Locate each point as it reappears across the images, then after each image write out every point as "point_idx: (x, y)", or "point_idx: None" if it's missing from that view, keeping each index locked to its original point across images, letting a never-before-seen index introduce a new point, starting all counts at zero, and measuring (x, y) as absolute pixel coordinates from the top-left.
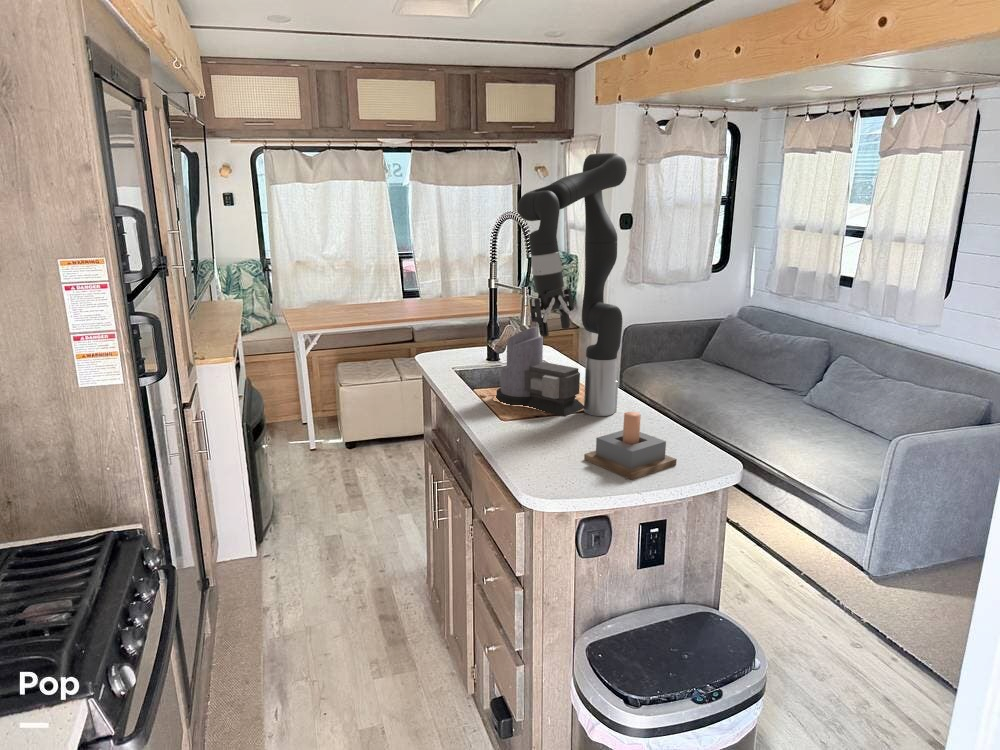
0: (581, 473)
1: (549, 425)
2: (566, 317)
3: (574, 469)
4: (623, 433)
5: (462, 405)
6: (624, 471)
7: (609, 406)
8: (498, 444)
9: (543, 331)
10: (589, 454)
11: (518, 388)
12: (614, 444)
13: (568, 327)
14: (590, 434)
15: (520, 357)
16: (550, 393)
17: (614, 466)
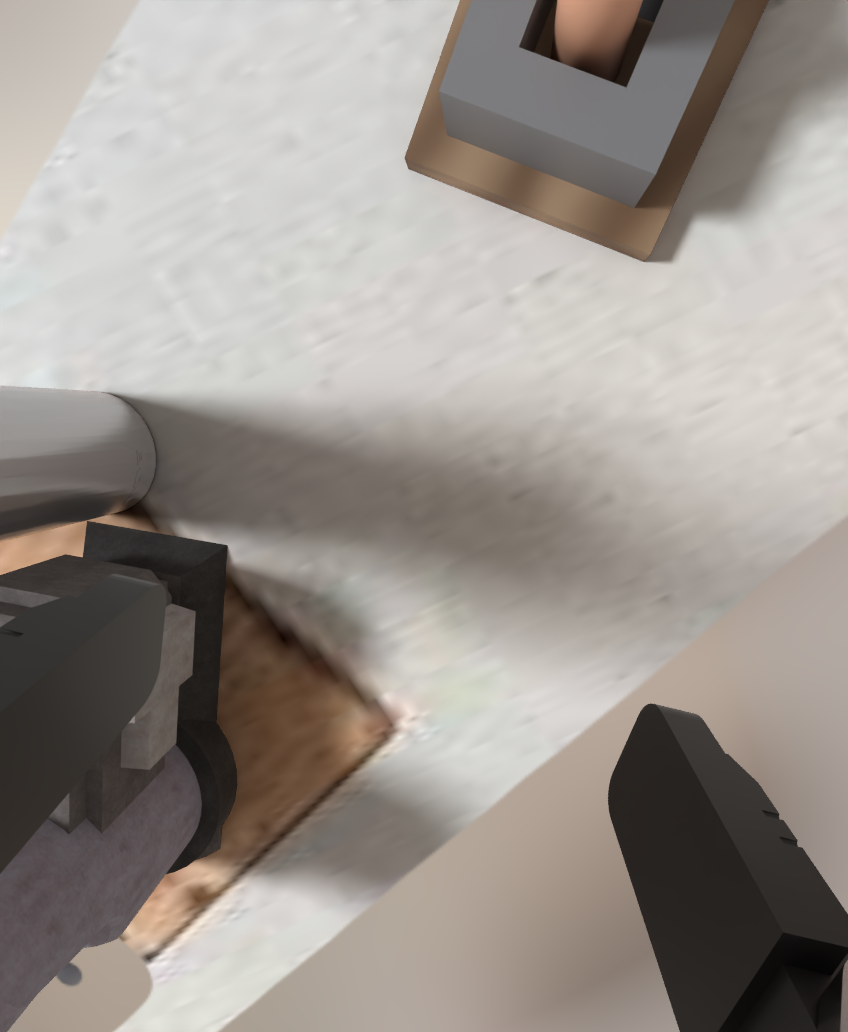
0: (797, 200)
1: (350, 554)
2: (13, 706)
3: (767, 246)
4: (630, 13)
5: (324, 915)
6: (767, 1)
7: (92, 396)
8: (644, 627)
9: (775, 810)
10: (645, 232)
11: (172, 795)
12: (714, 42)
13: (141, 581)
14: (358, 369)
15: (61, 912)
16: (182, 642)
17: (736, 66)
